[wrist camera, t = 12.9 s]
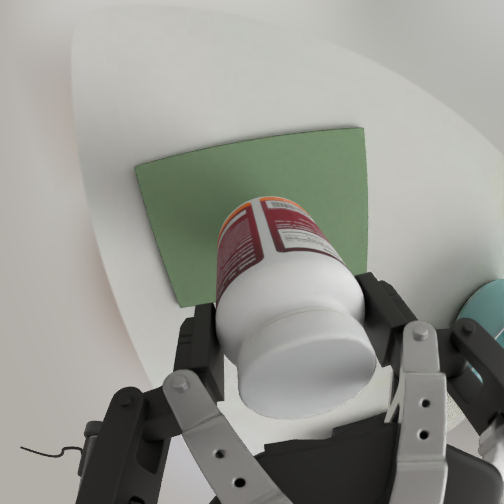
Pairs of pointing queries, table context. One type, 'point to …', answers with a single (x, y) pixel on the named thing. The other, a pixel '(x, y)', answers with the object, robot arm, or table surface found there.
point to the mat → (253, 186)
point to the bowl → (487, 311)
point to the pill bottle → (289, 312)
